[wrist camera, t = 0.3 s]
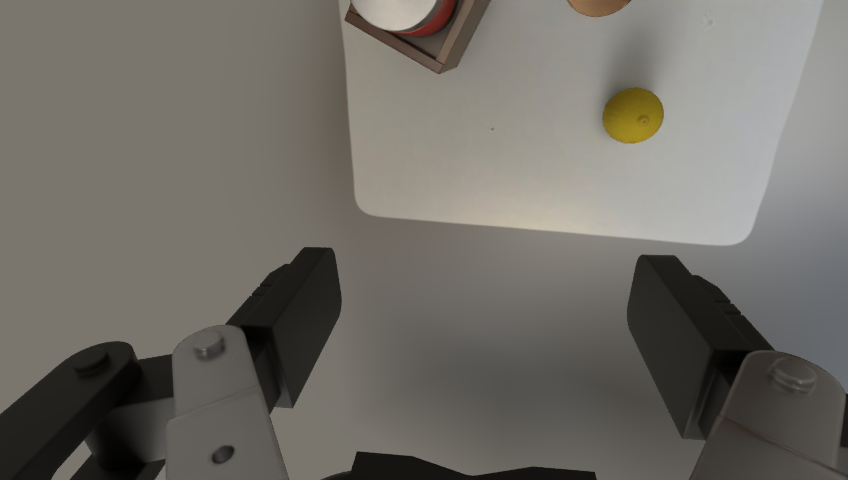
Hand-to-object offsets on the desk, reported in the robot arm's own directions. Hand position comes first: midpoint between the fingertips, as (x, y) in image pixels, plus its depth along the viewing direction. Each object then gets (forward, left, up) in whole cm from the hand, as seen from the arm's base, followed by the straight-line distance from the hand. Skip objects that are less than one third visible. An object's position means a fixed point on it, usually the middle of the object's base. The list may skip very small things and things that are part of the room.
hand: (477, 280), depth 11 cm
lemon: (-6, +13, -43) cm, 45 cm away
